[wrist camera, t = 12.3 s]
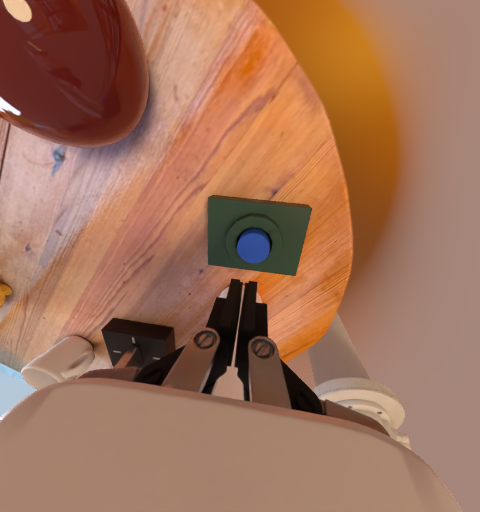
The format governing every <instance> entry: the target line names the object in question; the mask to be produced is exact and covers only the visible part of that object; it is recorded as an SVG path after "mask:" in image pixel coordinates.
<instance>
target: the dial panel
mask: <svg viewBox="0 0 480 512" xmlns="http://www.w3.org/2000/svg"><path fill="white" fill-rule="evenodd" d="M101 331H102V334H103V337H104V340H105V343H106V347H107V350H108V353H109V356H110V359H111V362H112V365H113V366H114V367H115V365H116V364H117V363H118V361H119V360H120V359H121V357H122V356H123V355H124V353H125V352H126V351H127V349H128V348H129V347H130V346H131V345H134V346H139V348H140V353H141V358H142V363H143V365H142V366H141V368H140V369H143V368H144V367H146V366H147V365H149V364H151V363H153V362H154V361H156V360H158V359H160V358H162V357H164V356H166V355H168V354H170V353H172V352H174V351H176V350H175V340H174V329H173V328H172V327H166V326H160V325H154V324H147V323H141V322H135V321H129V320H122V319H116V318H113V319H112V320H111V321H110V322H109V323H108V324H107V325H106V326H105V327H104V328H103V329H102V330H101Z"/></svg>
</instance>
